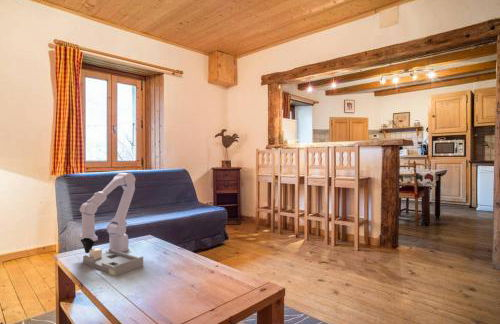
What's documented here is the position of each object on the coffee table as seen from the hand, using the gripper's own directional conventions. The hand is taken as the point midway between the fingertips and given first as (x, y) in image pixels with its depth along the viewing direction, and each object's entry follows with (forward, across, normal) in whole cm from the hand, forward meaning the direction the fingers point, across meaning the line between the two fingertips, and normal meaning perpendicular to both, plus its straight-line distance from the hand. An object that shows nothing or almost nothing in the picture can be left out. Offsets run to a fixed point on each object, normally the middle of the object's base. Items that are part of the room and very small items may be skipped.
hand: (88, 252), depth 148 cm
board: (+3, +18, +3) cm, 18 cm away
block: (+1, +7, 0) cm, 7 cm away
